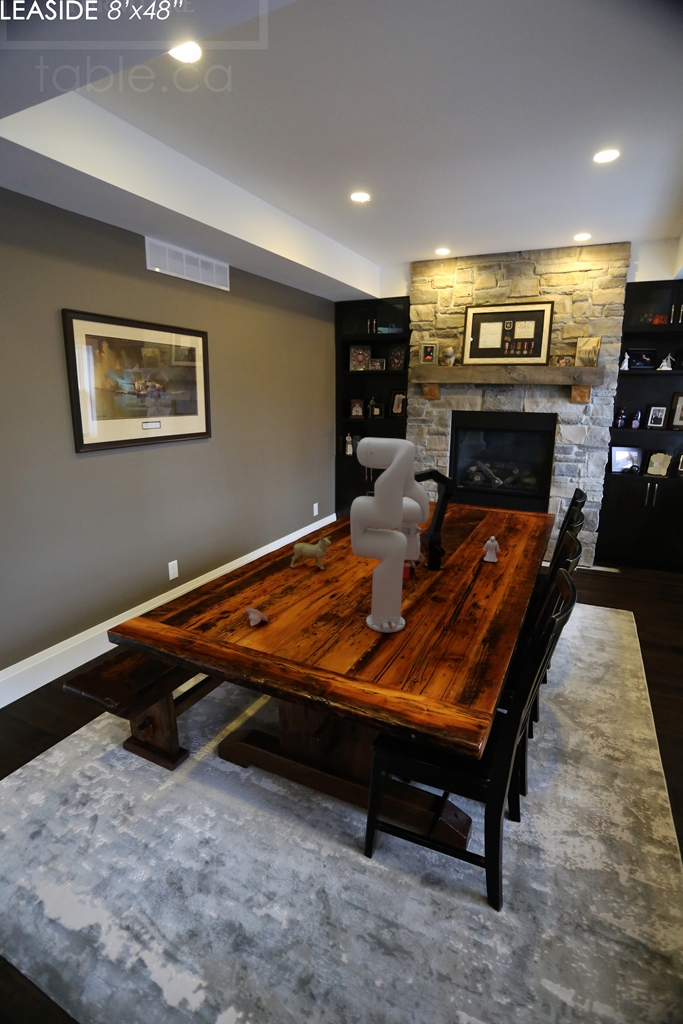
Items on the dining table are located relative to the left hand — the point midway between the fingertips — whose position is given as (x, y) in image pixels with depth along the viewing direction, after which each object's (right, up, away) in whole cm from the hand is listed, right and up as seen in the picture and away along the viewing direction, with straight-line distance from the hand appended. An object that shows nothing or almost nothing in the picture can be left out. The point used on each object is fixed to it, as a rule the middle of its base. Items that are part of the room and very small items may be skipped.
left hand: (404, 575), depth 192 cm
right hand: (-5, +11, +15) cm, 19 cm away
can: (0, 0, 0) cm, 0 cm away
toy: (-37, 0, +20) cm, 42 cm away
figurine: (+43, +2, +33) cm, 54 cm away
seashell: (-52, -12, -30) cm, 61 cm away
